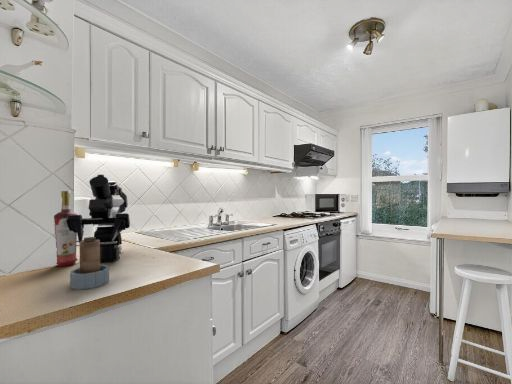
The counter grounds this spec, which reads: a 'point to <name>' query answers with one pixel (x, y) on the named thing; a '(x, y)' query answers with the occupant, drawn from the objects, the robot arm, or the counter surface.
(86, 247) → the pepper mill
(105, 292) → the counter surface
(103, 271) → the blue segmented ring
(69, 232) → the liquor
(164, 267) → the counter surface
